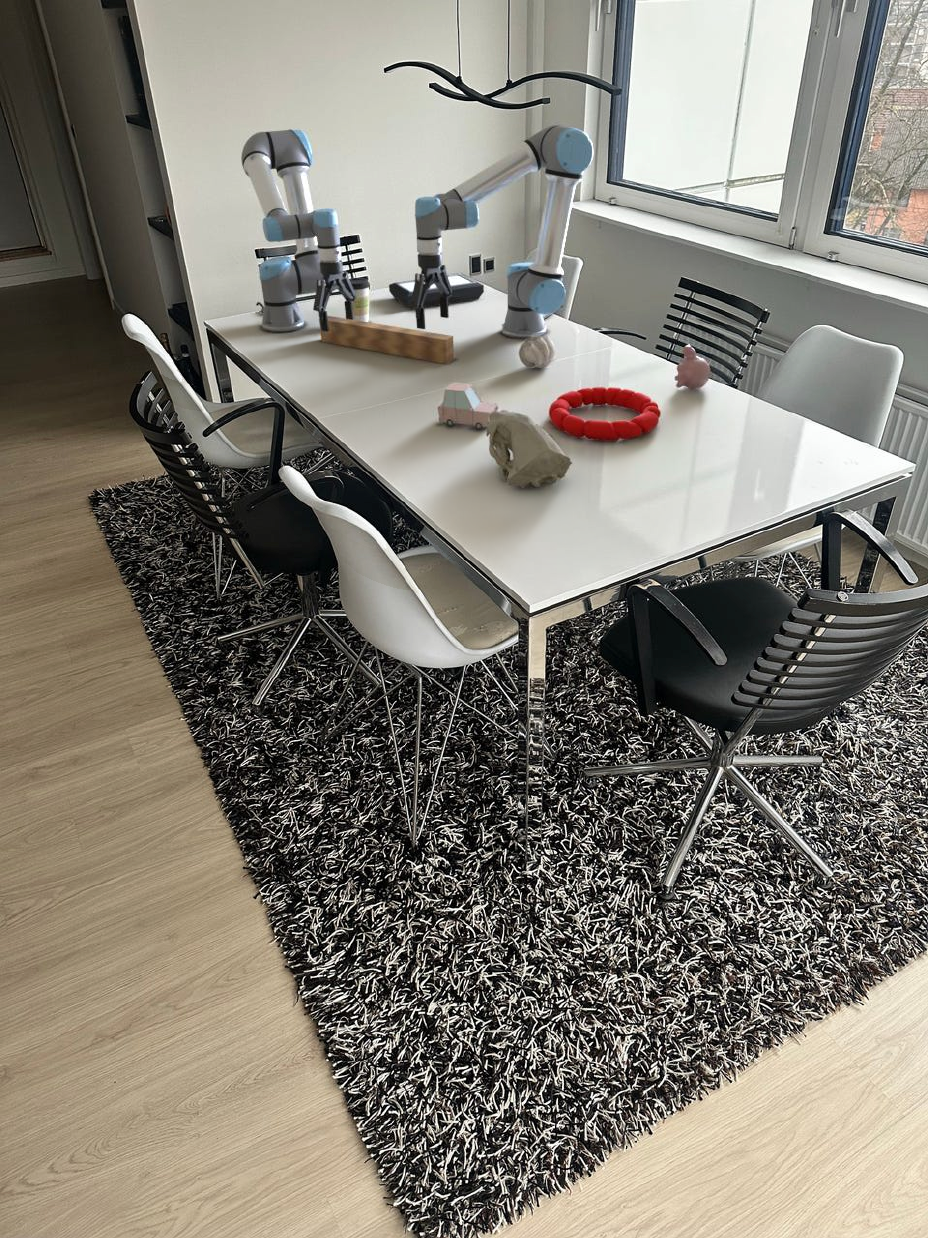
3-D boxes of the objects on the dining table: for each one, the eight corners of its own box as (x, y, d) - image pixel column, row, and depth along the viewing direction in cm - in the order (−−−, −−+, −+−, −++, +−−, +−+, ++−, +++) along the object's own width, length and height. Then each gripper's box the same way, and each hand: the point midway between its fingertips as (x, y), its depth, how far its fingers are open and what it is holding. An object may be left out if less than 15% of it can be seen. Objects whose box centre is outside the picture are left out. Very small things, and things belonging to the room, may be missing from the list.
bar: (321, 341, 311) (318, 318, 306) (329, 337, 314) (327, 315, 310) (446, 363, 287) (445, 339, 283) (454, 359, 291) (453, 335, 286)
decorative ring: (589, 435, 224) (684, 402, 234) (527, 398, 247) (617, 369, 256) (589, 461, 229) (683, 427, 238) (529, 422, 251) (617, 393, 260)
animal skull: (496, 517, 219) (521, 479, 201) (463, 429, 225) (484, 384, 207) (557, 503, 225) (586, 465, 206) (523, 417, 231) (549, 373, 212)
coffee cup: (372, 326, 323) (368, 283, 314) (345, 327, 323) (340, 284, 315) (374, 318, 331) (371, 276, 322) (348, 319, 331) (344, 277, 323)
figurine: (665, 387, 264) (669, 347, 257) (693, 380, 268) (698, 340, 261) (686, 396, 257) (690, 355, 250) (714, 388, 262) (720, 348, 255)
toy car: (488, 432, 240) (488, 396, 234) (436, 426, 244) (434, 390, 239) (499, 419, 247) (499, 384, 241) (448, 413, 252) (447, 379, 246)
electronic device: (407, 294, 335) (388, 282, 350) (408, 310, 338) (389, 298, 353) (483, 282, 345) (462, 272, 360) (483, 299, 348) (463, 287, 364)
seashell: (509, 366, 283) (509, 335, 277) (548, 358, 288) (549, 327, 283) (526, 376, 275) (526, 344, 269) (566, 367, 281) (567, 335, 275)
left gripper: (314, 269, 284) (323, 336, 296) (362, 253, 301) (368, 317, 313) (297, 267, 287) (305, 333, 299) (345, 252, 305) (351, 315, 316)
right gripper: (416, 262, 263) (420, 334, 275) (461, 245, 280) (463, 314, 292) (396, 260, 266) (401, 331, 278) (441, 243, 283) (444, 311, 295)
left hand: (337, 325), depth 306 cm, fingers open, 13 cm apart
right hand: (433, 322), depth 285 cm, fingers open, 13 cm apart
